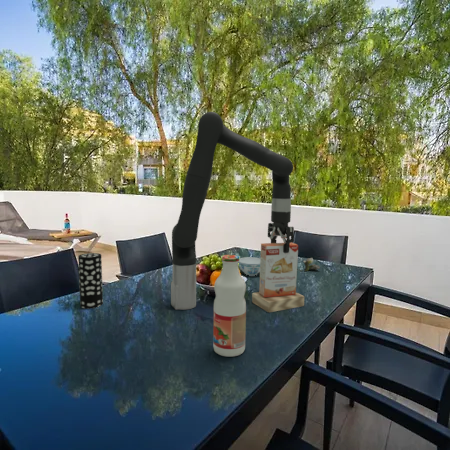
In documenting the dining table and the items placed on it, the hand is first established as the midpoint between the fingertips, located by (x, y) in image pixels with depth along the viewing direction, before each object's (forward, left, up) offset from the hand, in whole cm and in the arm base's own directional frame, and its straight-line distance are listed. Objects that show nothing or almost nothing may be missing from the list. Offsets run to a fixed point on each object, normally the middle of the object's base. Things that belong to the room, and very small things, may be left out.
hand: (279, 250), depth 135 cm
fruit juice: (-35, -25, -22) cm, 48 cm away
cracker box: (0, 0, -18) cm, 18 cm away
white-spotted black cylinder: (-68, +30, -22) cm, 78 cm away
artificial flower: (+42, +39, -23) cm, 62 cm away
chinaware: (+13, +43, -22) cm, 50 cm away
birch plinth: (0, 0, -22) cm, 22 cm away
